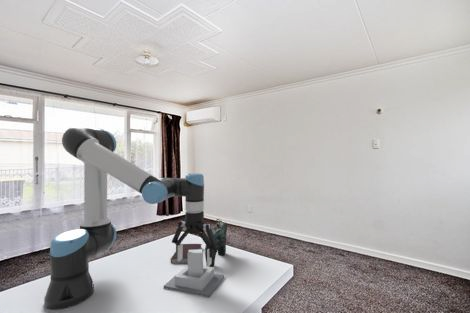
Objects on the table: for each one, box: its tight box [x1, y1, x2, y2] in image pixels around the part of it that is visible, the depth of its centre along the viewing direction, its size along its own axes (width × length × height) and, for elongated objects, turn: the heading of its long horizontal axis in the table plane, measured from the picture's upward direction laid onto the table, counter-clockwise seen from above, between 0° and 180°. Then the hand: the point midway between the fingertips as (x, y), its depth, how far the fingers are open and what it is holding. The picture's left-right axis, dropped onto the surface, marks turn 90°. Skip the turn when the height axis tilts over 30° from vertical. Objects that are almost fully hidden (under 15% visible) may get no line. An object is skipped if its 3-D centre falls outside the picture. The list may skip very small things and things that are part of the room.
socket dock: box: [163, 264, 226, 298], centre depth 96 cm, size 20×15×4 cm
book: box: [170, 243, 203, 264], centre depth 123 cm, size 12×19×3 cm, turn 179°
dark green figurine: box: [204, 218, 228, 267], centre depth 117 cm, size 20×6×20 cm, turn 161°
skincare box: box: [187, 248, 204, 278], centre depth 96 cm, size 6×4×12 cm
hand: (194, 262), depth 96 cm, fingers open, 13 cm apart
